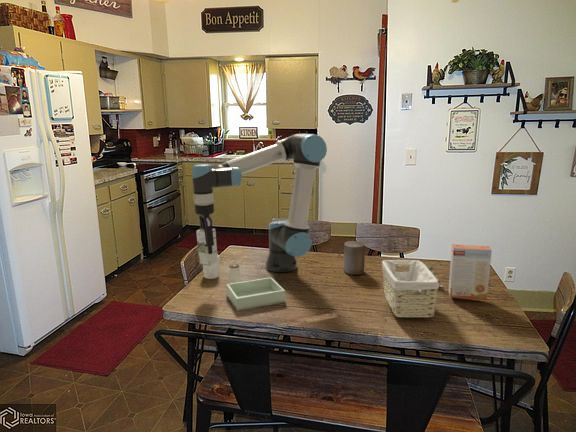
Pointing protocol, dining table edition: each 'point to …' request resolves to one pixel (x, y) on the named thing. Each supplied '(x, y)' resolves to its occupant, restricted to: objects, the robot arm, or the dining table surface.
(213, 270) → the white cup
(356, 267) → the pillar candle
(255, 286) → the tote
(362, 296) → the dining table surface
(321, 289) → the dining table surface
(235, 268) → the spice jar
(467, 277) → the cracker box
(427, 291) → the storage basket
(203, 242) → the syrup box
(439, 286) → the house of cards
